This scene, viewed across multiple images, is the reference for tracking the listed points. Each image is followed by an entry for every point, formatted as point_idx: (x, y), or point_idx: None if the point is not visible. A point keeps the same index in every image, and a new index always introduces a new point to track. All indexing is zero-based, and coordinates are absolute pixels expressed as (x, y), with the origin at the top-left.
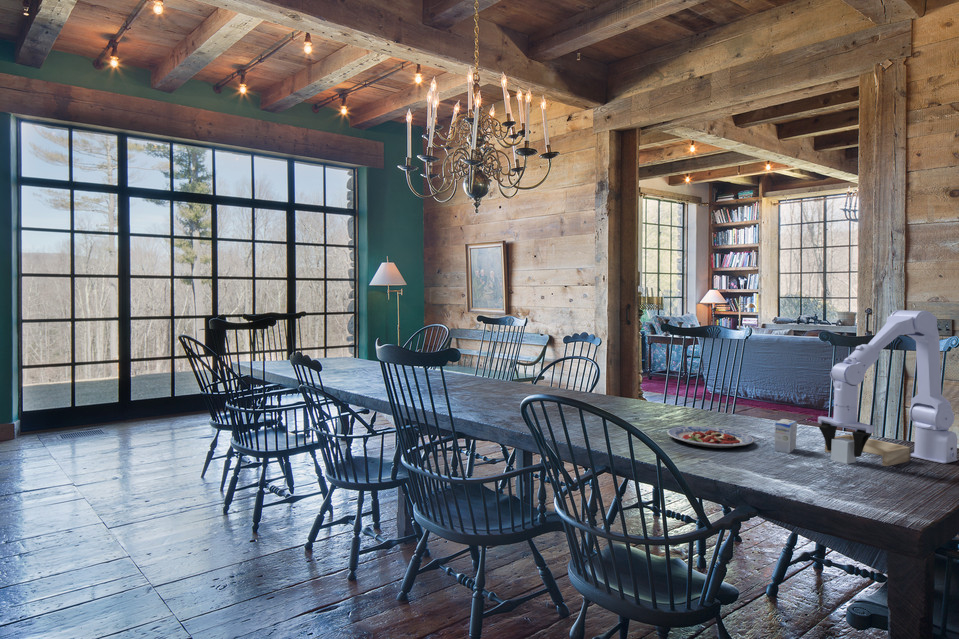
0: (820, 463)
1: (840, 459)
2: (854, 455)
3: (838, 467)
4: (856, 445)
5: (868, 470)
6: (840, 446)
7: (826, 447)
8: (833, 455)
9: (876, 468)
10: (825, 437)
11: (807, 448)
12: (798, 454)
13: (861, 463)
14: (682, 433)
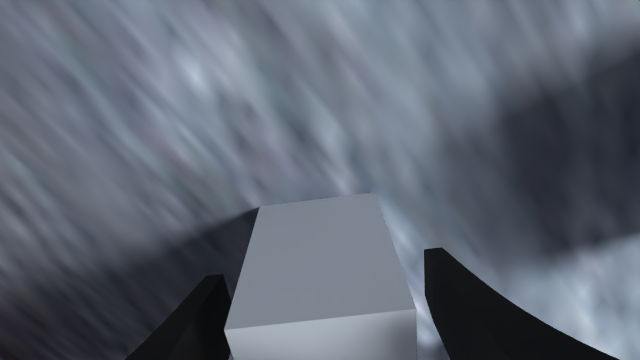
0: (332, 15)
1: (305, 212)
2: (216, 277)
3: (191, 57)
4: (153, 344)
5: (89, 201)
6: (308, 278)
7: None
8: (361, 213)
9: (129, 283)
10: (507, 314)
11: (633, 291)
12: (600, 92)
13: None
14: None
